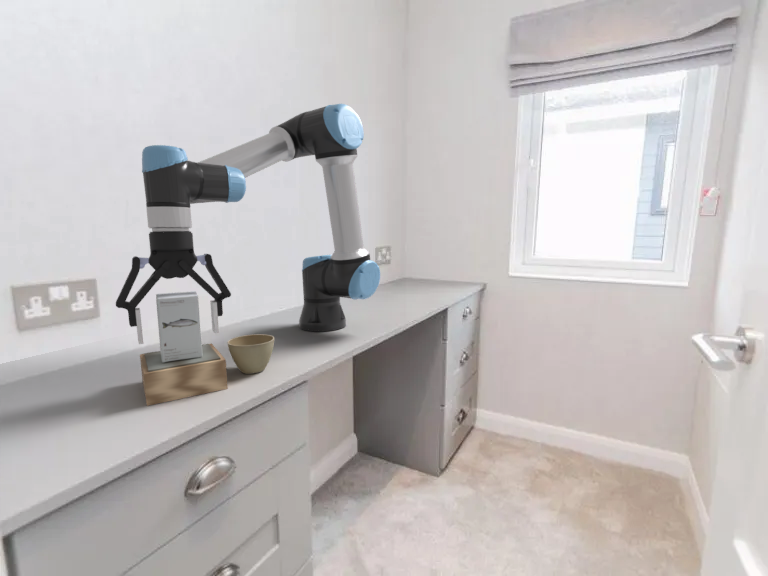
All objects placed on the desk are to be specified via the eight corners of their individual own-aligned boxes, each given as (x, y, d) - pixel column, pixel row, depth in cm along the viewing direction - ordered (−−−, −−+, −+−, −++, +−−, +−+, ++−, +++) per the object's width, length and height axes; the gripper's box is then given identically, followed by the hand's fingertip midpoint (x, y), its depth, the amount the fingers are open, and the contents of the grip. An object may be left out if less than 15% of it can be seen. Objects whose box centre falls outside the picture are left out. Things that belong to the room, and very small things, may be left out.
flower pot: (284, 365, 94) (282, 335, 93) (257, 380, 85) (256, 347, 84) (248, 361, 97) (246, 332, 96) (219, 375, 88) (217, 343, 87)
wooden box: (213, 368, 92) (211, 342, 91) (227, 388, 81) (225, 358, 80) (142, 382, 84) (139, 353, 84) (146, 405, 73) (143, 372, 72)
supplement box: (161, 363, 77) (155, 298, 75) (161, 353, 83) (155, 293, 81) (203, 357, 80) (198, 295, 78) (200, 348, 87) (195, 290, 85)
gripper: (232, 229, 88) (238, 324, 91) (92, 230, 74) (105, 342, 77) (241, 229, 82) (248, 331, 85) (90, 230, 68) (104, 352, 71)
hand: (179, 337), depth 81 cm, fingers open, 13 cm apart
